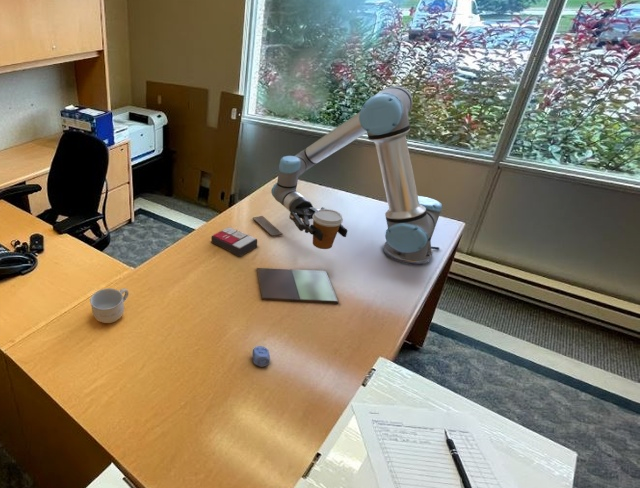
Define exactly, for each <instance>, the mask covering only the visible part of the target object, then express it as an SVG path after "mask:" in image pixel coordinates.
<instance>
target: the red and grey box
mask: <svg viewBox="0 0 640 488" xmlns="http://www.w3.org/2000/svg"><path fill="white" fill-rule="evenodd" d="M211 243H212V244H214V245H216V246H218V247H221V248H223V249H225V250H227V251H228V252H230V253H231V254H232V255H235V256H237V257H242V256H244V255H245V254H247V253H249V252H251V251H252V250H254V249H256V248H257V247H258V238H256V237H253V236H251V235H248V233H246V232H242V231H240V230H238V229H235V228H233V227H231V226H228V227H226V228H224V229H222V230H221V231H218V232H216V233H214V234H213V235H211Z"/></svg>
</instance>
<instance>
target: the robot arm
mask: <svg viewBox="0 0 640 488" xmlns="http://www.w3.org/2000/svg"><path fill="white" fill-rule="evenodd" d="M413 104H414V103H413V97H412V94H411V93H410V91H408V89H406V88H404V87H402V86H396V85H395V86H387V87H386V88H383V89H381V90H380V91H379V92H377V93H375V94H374V95H372V96H371V97H370V98H368V99H367V100H366V101H365V102H364V103H363V105H362V107H361V108H360V110H359V112H357V113H355V115H353V116H352V117H350V118H349V119H347V120H345V121H344V122H342V123H341V124H340V125H338V126H336V127H335V128H334V129H332V130H331V131H329V132H328V133H326V134H325V135H323V136H322V137H320V138H319V139H317V140H316V141H315V142H313V143H312V144H310V145H309V146H307V147H306V148H304V149H302V150H300V151H299V152H298V153H296V154H295V155H285V156H283V157H281V158H280V161H279V165H278V173H277V182H275V184H273V187H271V190H270V191H271V192H270V193H271V195H272V197H273V198H274V199H275V201H276V202H278V203H279V204H280V205H282V206H283V207H284V208H285V209H286V210H287V211H288V212H289V219H290V220H291V221H292V222H293V223H294V225H295V226H296V228H297V229H298V230H299V231H300V232H303V231H304V233H306V234H308V233H309V234H310V235H312V236H313V235H314V236H315V237H316V238H317V239H318V240H319V241H322V238H323V233H322V232H321V231H320V230H318V229H317V228H316V227H315V226H314V225H313V223H312V224H311V223H310V220H313V214H314V213H315V212H316V211H317V210H320V209H326V208H325V207H322V206H321V208H320V209H317V208H316V207H314V206H313V204H312V203H311V201H309V200H308V199H307V198H306V197H304V196H303V195H302V194H301V193H300V192H298V191H297V189H298V188H297V187H298V182H299V177H300V176H302V175H303V174H304V173H305V172H306V171H308V170H309V169H311V168H312V167H314V166H316V165H317V164H318V163H320V162H321V161H323V160H325V159H327V158H328V157H330V156H331V155H333V154H334V153H336V152H338V151H339V150H341V149H343V148H345V147H347V145H349V144H351V143H352V142H354V141H356V140H357V139H359V138H361V137H362V136H363V135H365V134H367V138H368V141H371V142H373V143H374V145H375V151H376V154H377V155H376V156H377V160H378V164H379V169H380V173H381V178H382V182H383V188H384V192H385V196H386V201H387V206H388V210H387V211H385V213H384V214H385V216H384V217H385V221H386V226H387V229H386V230H385V242H384V245H383V252H384V254H385V255H386V256H387V257H389V258H391V259H392V260H394V261H396V262H399V263H402V264H406V265H412V266H413V265H414V266H417V265H418V266H419V265H425V264H427V263H429V262H430V261H431V258H432V255H433V253H432V252H433V251H432V250H440V247H438V246H432V242H431V240H432V237H433V235H434V231H435V229H436V226H437V224H438V221H439V219H440V218H439V217H440V215H441V213H442V208H443V205H442V203H441V202H440V201H438V200H436V199H434V198H431V197H427V196H423V195H418V190H417V187H416V181H415V175H414V169H413V166H412V161H411V156H410V151H409V145H408V141H407V135H408V134H409V132H410V131H411V125H410V120H409V114H410V112H411V110H412V107H413ZM337 234H339V235H340V236H342V237H343V238H346V237H347V235H348V229H347V228H346V227H345V226H344V225H343V223H341V224H340V227H339V229H338V232H337Z"/></svg>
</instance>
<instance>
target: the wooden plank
mask: <svg viewBox="0 0 640 488" xmlns="http://www.w3.org/2000/svg"><path fill="white" fill-rule="evenodd" d="M252 220H253V221H254V222H255V223H257V225H258V226H260V227H261V228H262V229H263V230H264V231H265V232H267V233H268V234H269V235H270V236H271V237H277V236H283V233H282V232H281V230H279V229H278V228H277V227H276V226H275V225H273V223H272V222H270V221H269V220H268V219H267V218H266V217H264V215H259V216H254V217H253V216H252Z"/></svg>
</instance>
